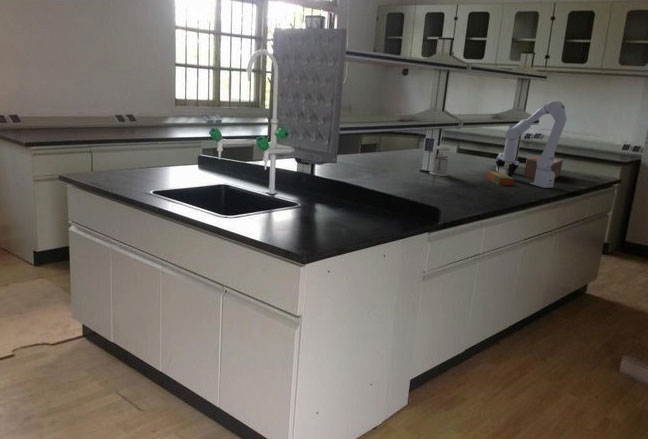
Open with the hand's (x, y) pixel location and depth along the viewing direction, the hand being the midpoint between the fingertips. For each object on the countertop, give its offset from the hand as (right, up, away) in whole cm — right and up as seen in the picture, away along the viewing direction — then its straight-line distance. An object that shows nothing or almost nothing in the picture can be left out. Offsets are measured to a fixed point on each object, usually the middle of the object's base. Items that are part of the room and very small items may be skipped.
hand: (504, 175), depth 316 cm
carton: (-7, -5, -12) cm, 15 cm away
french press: (-38, 0, -8) cm, 39 cm away
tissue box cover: (+28, +1, +21) cm, 35 cm away
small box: (+6, +4, +22) cm, 23 cm away
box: (0, -2, 0) cm, 2 cm away
